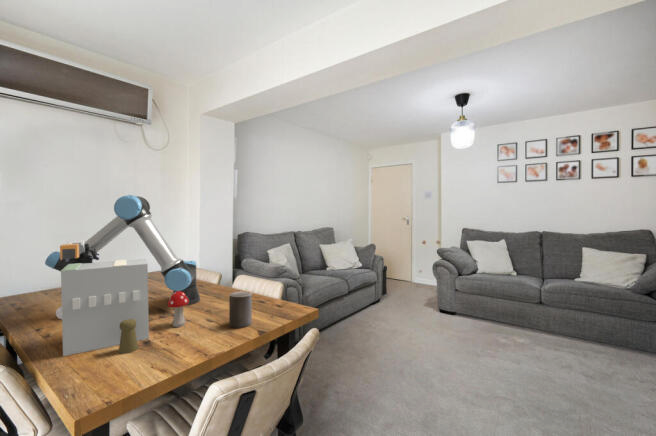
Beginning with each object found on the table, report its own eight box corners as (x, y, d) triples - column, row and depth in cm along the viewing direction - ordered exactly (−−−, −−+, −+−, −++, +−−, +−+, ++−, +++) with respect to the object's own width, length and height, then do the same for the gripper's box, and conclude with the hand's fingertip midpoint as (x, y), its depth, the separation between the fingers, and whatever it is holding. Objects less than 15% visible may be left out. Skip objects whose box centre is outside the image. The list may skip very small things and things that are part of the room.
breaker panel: (70, 340, 119) (68, 264, 119) (146, 326, 134) (145, 258, 133) (62, 357, 105) (60, 270, 105) (149, 339, 120) (147, 263, 119)
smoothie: (83, 309, 153) (71, 316, 140) (70, 316, 151) (56, 325, 138) (76, 298, 152) (62, 305, 139) (62, 306, 150) (47, 313, 137)
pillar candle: (231, 329, 129) (231, 295, 128) (227, 322, 137) (227, 289, 137) (254, 326, 133) (254, 292, 133) (249, 319, 142) (249, 287, 142)
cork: (124, 346, 113) (124, 317, 113) (141, 345, 114) (141, 316, 114) (114, 354, 107) (114, 323, 107) (132, 353, 108) (132, 322, 108)
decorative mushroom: (169, 322, 138) (168, 289, 137) (189, 319, 141) (189, 287, 141) (166, 330, 129) (166, 295, 128) (189, 327, 132) (188, 293, 132)
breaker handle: (71, 251, 127) (71, 240, 127) (85, 250, 130) (85, 239, 129) (60, 259, 105) (59, 245, 105) (77, 258, 108) (77, 244, 108)
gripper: (58, 258, 135) (48, 235, 118) (104, 255, 144) (101, 233, 127) (57, 274, 132) (46, 252, 115) (104, 269, 141) (101, 249, 124)
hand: (75, 242), depth 121 cm, fingers closed on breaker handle, 3 cm apart
